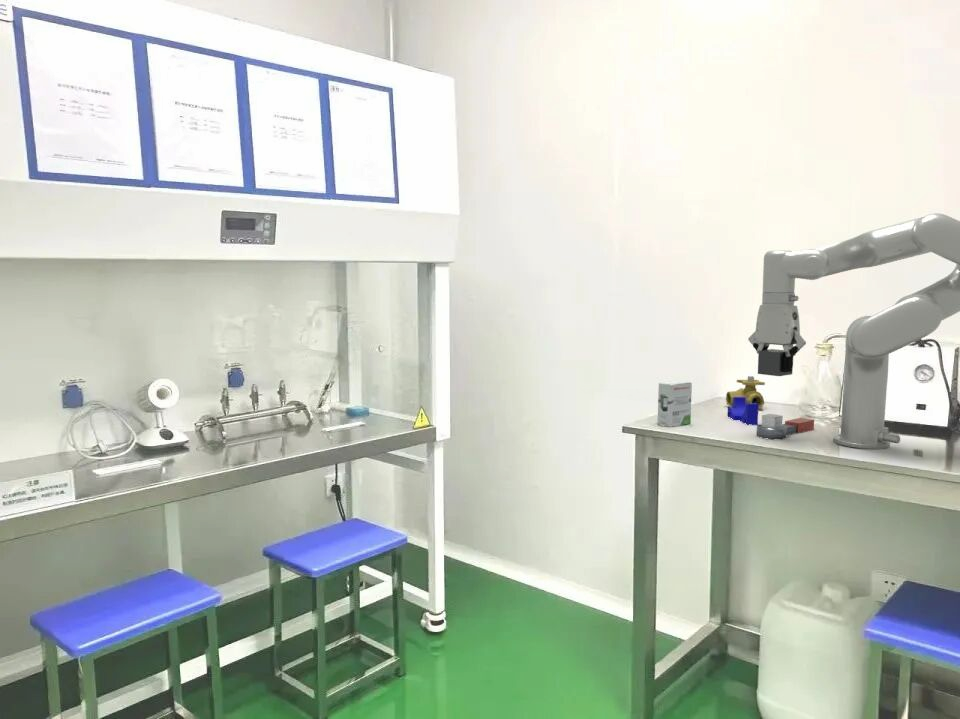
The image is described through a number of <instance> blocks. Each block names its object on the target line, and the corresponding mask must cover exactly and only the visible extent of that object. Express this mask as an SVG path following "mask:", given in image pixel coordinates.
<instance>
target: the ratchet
mask: <svg viewBox="0 0 960 719" xmlns="http://www.w3.org/2000/svg"><path fill="white" fill-rule="evenodd" d="M783 420H784V419H783V415H781V414H780V415H779V414H774V413H766V414H762V415H761V424H758V425H756V435H757V436H756V437H758V436H759V437H758V438H760V437H762V438H761V439H764V438H768V439H767V440H774V439H780V440H785V438H786V439H787V436H789V434H790V435H794V434H799V432H800V433H804V432H803V431H805V432H808V430H809V431H813V430H815V419H811V418H806V417H798V418H792V419H788V420H785V421H784V423H783ZM793 433H794V434H793Z"/></svg>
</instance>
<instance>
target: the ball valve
mask: <svg viewBox="0 0 960 719" xmlns="http://www.w3.org/2000/svg"><path fill="white" fill-rule="evenodd" d="M736 383H740V384H741V385H744V388H743V387H740V388H739V389H737V390H734V391H733V390H732V391H727V392H726V396H725V401H726V405H727V406H728V407H733V397H745V402H746V403H757V404H759V407H758V410H759V409H762V408H763V406H764V405H765V401H764V400H765V399H764V397H763V395H762V393H761V392H759V391H757V388H756V386H765V385H766V382H765V381H760V380H758V379H755V376H754V375H748V376H747V379H736Z"/></svg>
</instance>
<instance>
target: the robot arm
mask: <svg viewBox="0 0 960 719" xmlns="http://www.w3.org/2000/svg"><path fill="white" fill-rule="evenodd" d="M929 253H932V254H935V255H937V256H939V257H941V258H943V259H945V260H948V261H949V262H951V263H954V264H956V265H955V268H954V269H953V270H952V272H950V273H949V274H948V275H947V276H945V277H944V278H941V279H939V280H937V281H936V282H934V283H932V284H930V285H928V286H925V287H924V288H922V289H920V290H918V291H916V292H913V293H911V294H908V295H904V296H902V297H901V298H899V300H897V301H896V303H894V304H893V305H892V306H889V307H888V308H886V309H883V310H881V311H879V312H878V313H875V314H873V315H864V316H863V315H862V316H860V317H858V318H856V319H854V320H853V321H852V322H851V323H850V324H849V326H848V327H847V330H846V333H845V355H844V356H845V357H844V358H845V359H844V375H843V377H844V378H843V386H842V387H843V388H842V402H841V403H842V404H841V418H840V419H841V420H840V421H841V422H840V434H836V435H834V436H833V437H832V438H833V439H832V441H833V442H834V443H836V444H837V445H842V446H845V447H850V448H857V449H863V450H864V449H866V450H881V449H887V448H890V446H891V443H893V444H900V441H901V436H900V434H896V433H890V432H889V427H887V426H885V419H886V418H885V417H886V405H887V402H886V401H887V390H888V389H887V388H888V377H889V358H890V357H889V355H890V354H891V353H893V352H896V351H898V350H900V349H903V348H904V347H907V346H910V345H911V344H913V343H915V342H917V341H919V340H921V339H924V338H925V337H927V336H929V335H931V334H932V333H934V331H936V330H937V329H938V328H939V327H940V325H941V323H942V321H944V320H946V319H947V318H950V317H952V316H954V315H956V314H958V313H960V220H958V219H956V218H953V217H951V216H949V215H947V214H944V213H930V214H928V215H925V216H921V217H918V218H915V219H910V220H907V221H904V222H900V223H899V222H898V223H895V224H892V225H889V226H885V227H880V228H877V229H874V230H873V229H872V230H869V231H867V232H863V233H862V234H859V235H856V236H855V237H852V238H849V239H846V240H844V241H843V240H842V241H840V242H836V243H833V244H829V245H825V246H821V247H818V248H812V249H811V248H810V249H804V250H769V251H768V250H767V251H766V252H765V254H764V256H763V266H762V267H763V268H762V270H763V275H762V295H761V296H762V298H761V304H760V305H759V308H758V311H757V317H756V324H755V331H754V332H753V333H752V334H751V335H750V336H749V337H748V341H749V343H750V344H751V346H752V347H753V348H754V349H755V351H756V355H757V354H759V350H768V349H769V347H770V345H773V346H774V345H775V346H776V345H777V346H782V348H783V349H782V350H784V352H785V356H784V357H783V372H791V371H792V368H794V357H795V356H796V355H797V353H798V352H799V351H800V350H801V349H802V348H804V347H805V345H806V344H807V342H806V340H805V339H804V338H803V337H802V336H801V327H800V326H801V324H800V315H799V308H798V306H797V305H795V302H798V301H799V299H800V298H799V296H798V295H796V293H795V287H796V286H795V282H796V279H803V280H807V281H808V280H809V281H813V280H818V279H819V280H820V279H821V278H824V277H828V276H833V275H835V274H839V273H843V272H848V271H852V270H856V269H864V268H873V267H877V266H881V265H885V264H889V263H893V262H896V261H902V260H905V259H908V258H913V257H916V256H917V257H918V256H920V255H924V254H929ZM792 372H793V371H792Z"/></svg>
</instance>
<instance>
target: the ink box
mask: <svg viewBox="0 0 960 719" xmlns="http://www.w3.org/2000/svg"><path fill="white" fill-rule="evenodd" d="M692 386H693V383H692V382H691V381H683V380H675V381H673V380H672V381H666V382H658V398H657V399H658V400H657V425H661V426H663V425H664V427H668V428H673V427H672V426H674V427H678V426H677V425H679V426H684V425H683V424H685V425H690V424H691V422H692V421H691V418H692V417H691V415H692V413H691V412H692V393H693V392H692V390H693V389H692V388H693V387H692ZM689 423H690V424H689Z"/></svg>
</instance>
